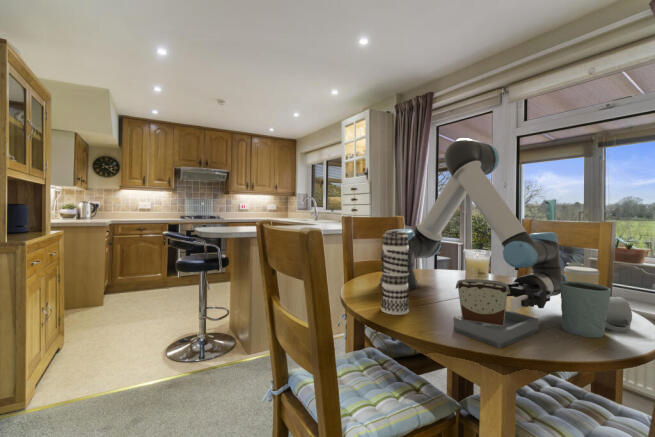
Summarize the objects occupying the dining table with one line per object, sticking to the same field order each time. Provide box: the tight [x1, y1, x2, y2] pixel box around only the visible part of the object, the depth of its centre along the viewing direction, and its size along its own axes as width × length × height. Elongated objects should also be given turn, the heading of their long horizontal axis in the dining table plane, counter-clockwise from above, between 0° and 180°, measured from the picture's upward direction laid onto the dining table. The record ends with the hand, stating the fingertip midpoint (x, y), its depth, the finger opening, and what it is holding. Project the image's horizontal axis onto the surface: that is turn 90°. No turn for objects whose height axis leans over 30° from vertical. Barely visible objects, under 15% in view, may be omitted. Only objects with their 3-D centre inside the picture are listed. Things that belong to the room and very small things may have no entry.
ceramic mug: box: [605, 296, 633, 333], centre depth 84 cm, size 11×8×8 cm
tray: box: [453, 309, 539, 349], centre depth 79 cm, size 12×18×4 cm, turn 123°
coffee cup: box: [563, 265, 601, 285], centre depth 104 cm, size 9×9×12 cm
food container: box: [454, 278, 510, 326], centre depth 79 cm, size 12×6×10 cm, turn 56°
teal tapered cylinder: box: [560, 281, 612, 339], centre depth 80 cm, size 10×10×12 cm
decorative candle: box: [380, 229, 411, 316], centre depth 96 cm, size 9×9×25 cm
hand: (489, 299), depth 77 cm, fingers open, 10 cm apart
